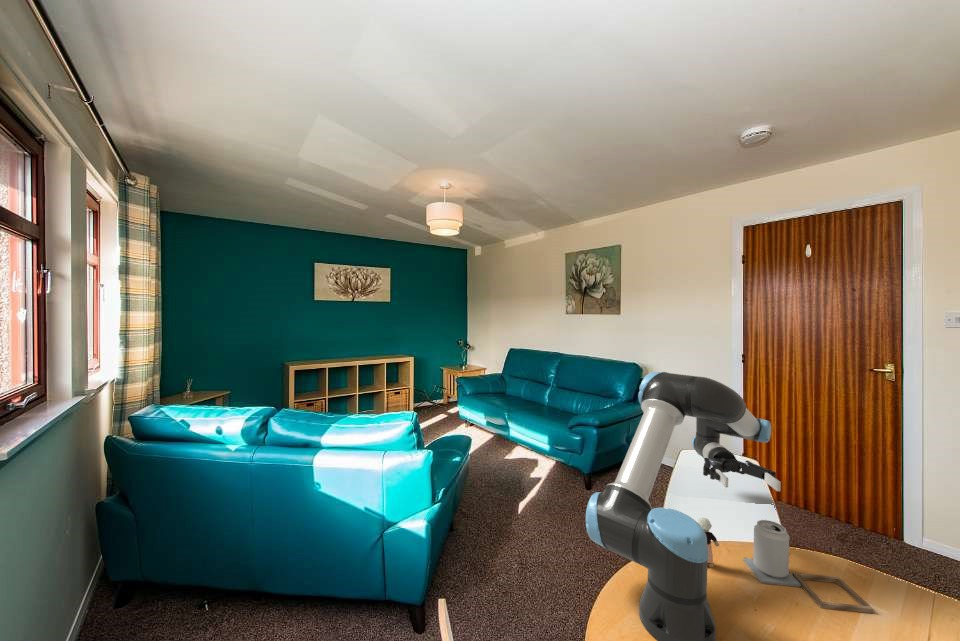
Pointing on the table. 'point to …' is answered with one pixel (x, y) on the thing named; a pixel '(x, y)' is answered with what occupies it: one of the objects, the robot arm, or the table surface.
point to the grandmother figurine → (708, 538)
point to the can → (771, 549)
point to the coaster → (764, 578)
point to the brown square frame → (829, 605)
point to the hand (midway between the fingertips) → (752, 484)
